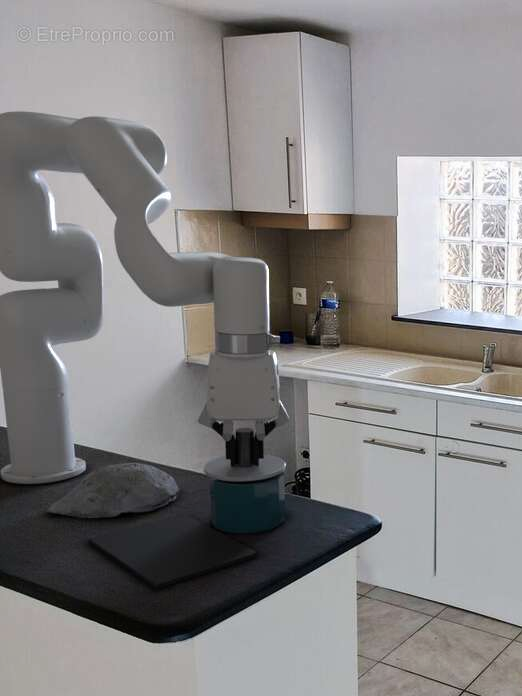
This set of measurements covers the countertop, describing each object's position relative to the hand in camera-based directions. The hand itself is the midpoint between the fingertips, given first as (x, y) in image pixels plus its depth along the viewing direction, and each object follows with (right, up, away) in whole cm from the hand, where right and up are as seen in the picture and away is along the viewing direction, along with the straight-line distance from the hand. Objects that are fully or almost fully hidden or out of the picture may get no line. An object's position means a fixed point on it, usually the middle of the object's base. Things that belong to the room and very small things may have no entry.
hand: (245, 462), depth 120 cm
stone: (-22, -7, +7) cm, 24 cm away
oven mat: (-7, -11, -10) cm, 16 cm away
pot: (0, -9, +2) cm, 9 cm away
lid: (0, -1, 0) cm, 1 cm away
